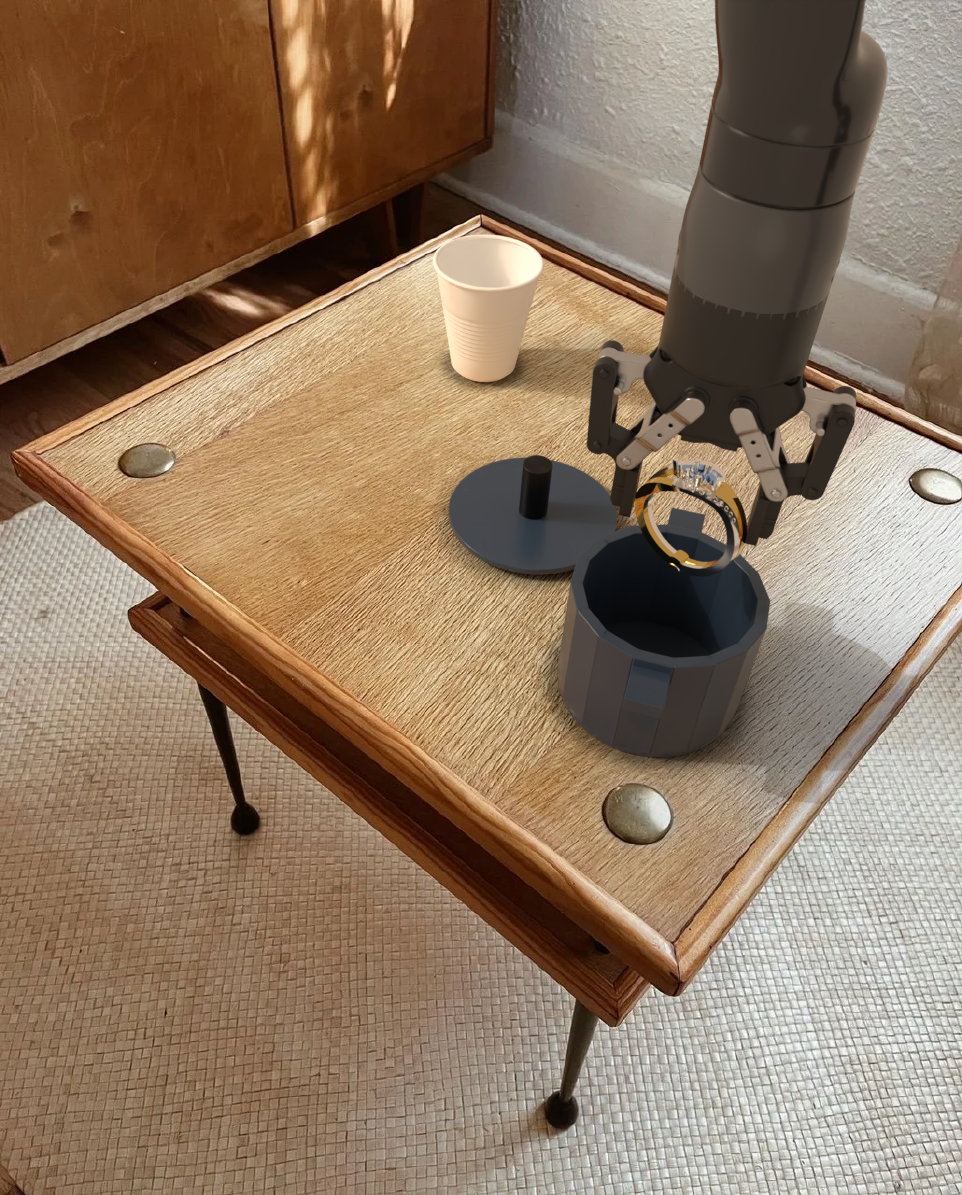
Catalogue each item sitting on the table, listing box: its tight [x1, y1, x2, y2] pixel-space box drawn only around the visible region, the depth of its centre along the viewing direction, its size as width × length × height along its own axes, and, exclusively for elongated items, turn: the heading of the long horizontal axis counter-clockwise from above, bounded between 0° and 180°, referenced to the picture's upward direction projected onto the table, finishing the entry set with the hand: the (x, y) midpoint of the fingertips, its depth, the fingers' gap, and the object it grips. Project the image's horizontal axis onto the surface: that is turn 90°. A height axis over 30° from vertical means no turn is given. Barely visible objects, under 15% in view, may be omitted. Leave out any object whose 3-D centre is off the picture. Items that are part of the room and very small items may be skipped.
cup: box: [432, 234, 545, 383], centre depth 95 cm, size 10×10×11 cm
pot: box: [556, 507, 771, 758], centre depth 69 cm, size 13×18×10 cm
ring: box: [634, 457, 748, 577], centre depth 61 cm, size 7×3×8 cm, turn 45°
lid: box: [448, 454, 618, 575], centre depth 82 cm, size 14×14×6 cm
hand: (688, 521), depth 61 cm, fingers closed on ring, 7 cm apart
